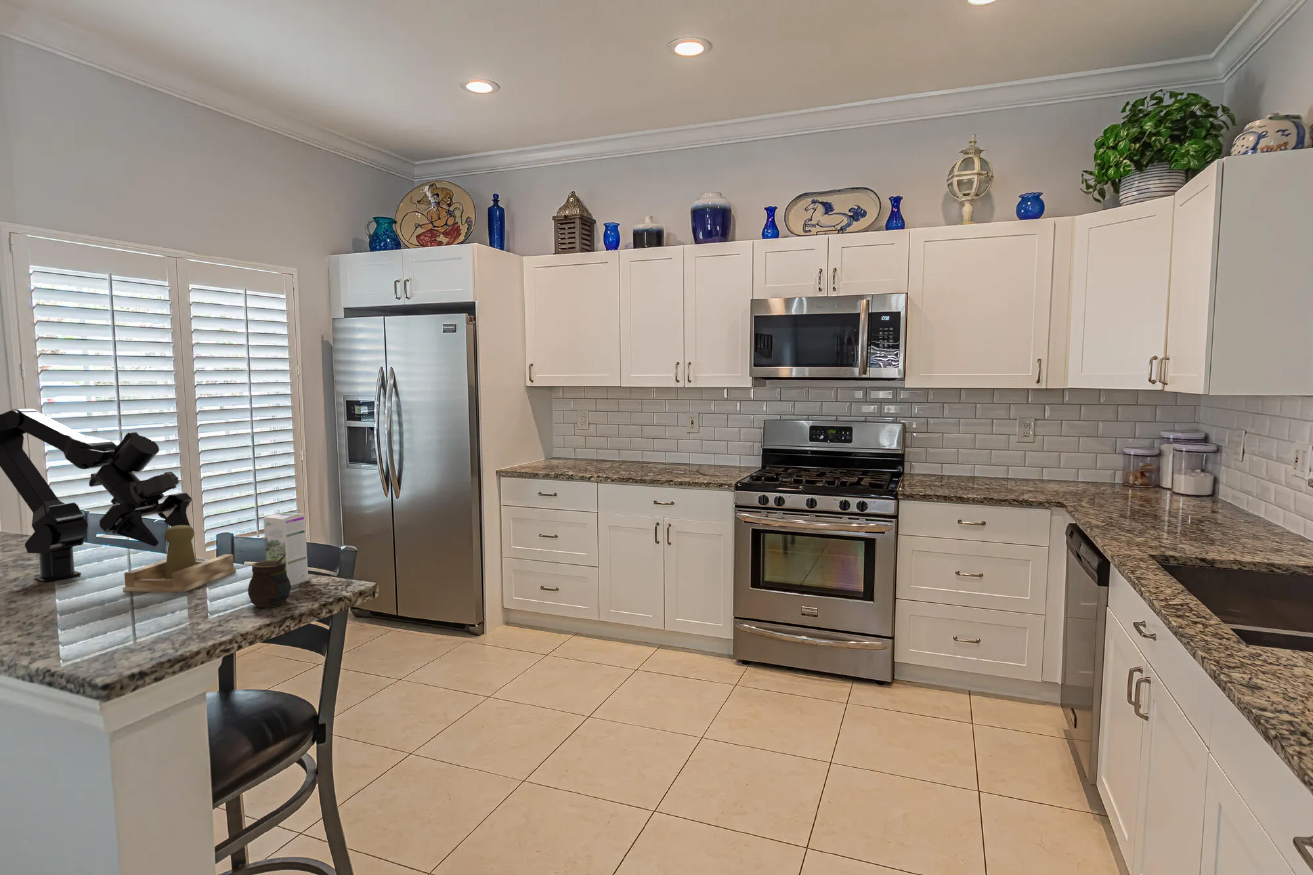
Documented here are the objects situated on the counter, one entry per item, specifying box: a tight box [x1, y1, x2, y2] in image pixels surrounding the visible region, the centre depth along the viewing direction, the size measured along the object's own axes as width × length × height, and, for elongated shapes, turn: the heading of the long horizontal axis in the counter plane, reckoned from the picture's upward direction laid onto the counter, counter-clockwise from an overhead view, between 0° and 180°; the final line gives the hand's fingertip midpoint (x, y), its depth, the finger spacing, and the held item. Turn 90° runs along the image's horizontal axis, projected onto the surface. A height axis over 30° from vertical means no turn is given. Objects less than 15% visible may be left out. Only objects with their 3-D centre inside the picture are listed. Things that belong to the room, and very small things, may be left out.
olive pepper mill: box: [164, 525, 197, 579], centre depth 151 cm, size 6×6×11 cm
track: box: [122, 554, 237, 593], centre depth 152 cm, size 16×13×4 cm
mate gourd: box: [247, 554, 292, 609], centre depth 134 cm, size 7×8×10 cm
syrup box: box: [263, 512, 309, 587], centre depth 149 cm, size 6×6×14 cm
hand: (174, 540), depth 151 cm, fingers open, 9 cm apart
